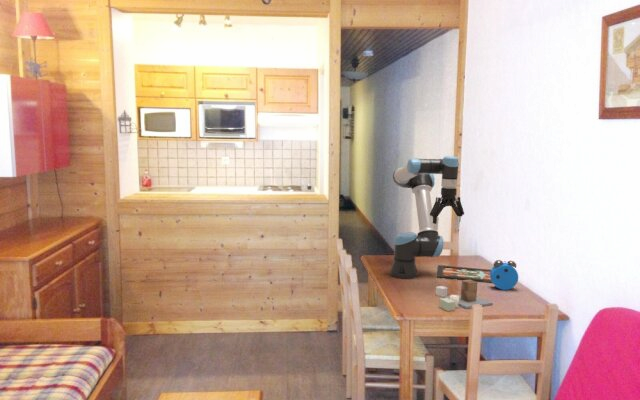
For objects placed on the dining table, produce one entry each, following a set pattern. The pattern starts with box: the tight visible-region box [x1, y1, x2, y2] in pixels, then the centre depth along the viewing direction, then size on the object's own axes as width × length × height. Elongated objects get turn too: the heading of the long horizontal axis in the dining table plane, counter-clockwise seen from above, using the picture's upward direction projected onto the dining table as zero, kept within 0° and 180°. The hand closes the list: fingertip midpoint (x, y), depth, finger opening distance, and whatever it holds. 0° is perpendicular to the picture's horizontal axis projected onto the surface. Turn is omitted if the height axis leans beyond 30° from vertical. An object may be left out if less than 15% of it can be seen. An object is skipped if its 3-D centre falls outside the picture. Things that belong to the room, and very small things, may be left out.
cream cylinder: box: [449, 294, 460, 309], centre depth 246 cm, size 4×4×5 cm
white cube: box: [435, 285, 448, 298], centre depth 263 cm, size 4×4×4 cm
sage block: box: [438, 297, 456, 312], centre depth 243 cm, size 6×4×4 cm, turn 24°
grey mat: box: [442, 293, 494, 310], centre depth 254 cm, size 16×16×1 cm
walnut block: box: [460, 280, 478, 302], centre depth 253 cm, size 5×5×9 cm
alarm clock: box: [490, 259, 519, 291], centre depth 277 cm, size 13×6×15 cm, turn 85°
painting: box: [436, 264, 493, 284], centre depth 303 cm, size 28×35×2 cm
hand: (446, 229), depth 270 cm, fingers open, 13 cm apart
